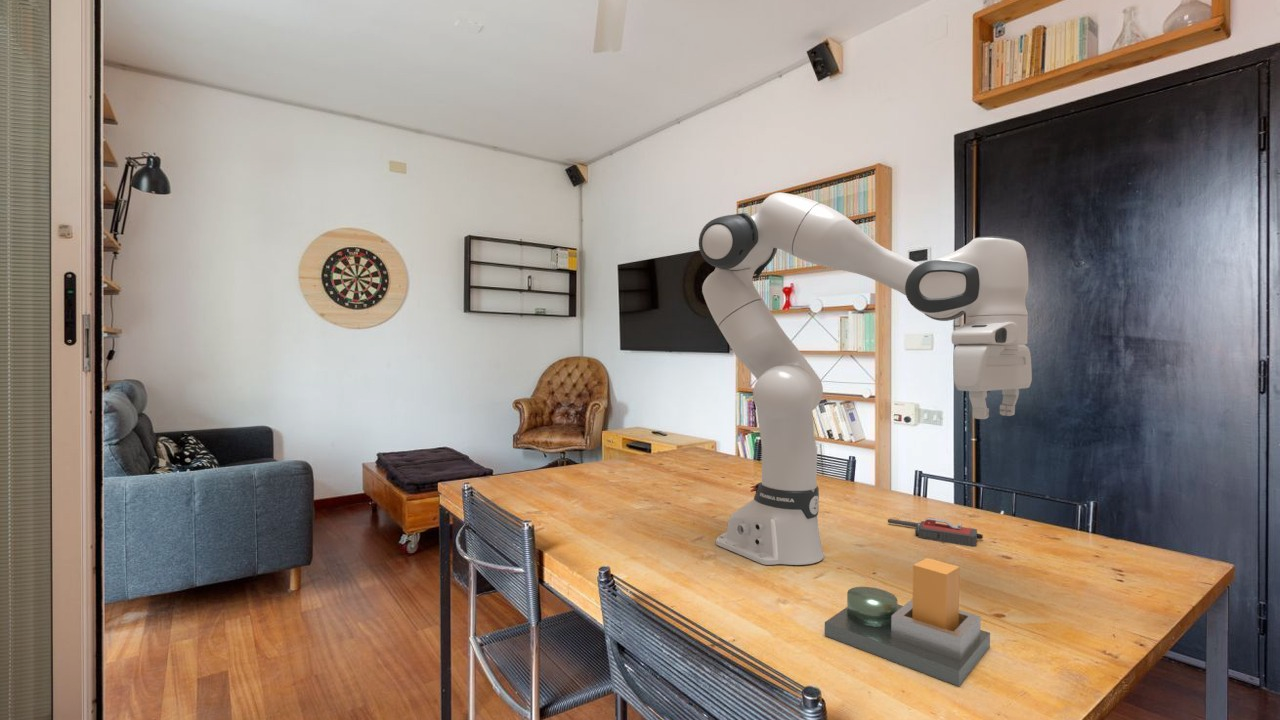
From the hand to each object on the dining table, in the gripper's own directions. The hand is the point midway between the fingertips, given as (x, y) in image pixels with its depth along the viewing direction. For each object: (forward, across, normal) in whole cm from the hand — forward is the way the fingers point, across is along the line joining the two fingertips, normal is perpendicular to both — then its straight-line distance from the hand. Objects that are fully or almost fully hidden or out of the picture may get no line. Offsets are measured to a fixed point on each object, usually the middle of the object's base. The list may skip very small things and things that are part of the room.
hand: (994, 417), depth 96 cm
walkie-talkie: (+32, -27, -25) cm, 49 cm away
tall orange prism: (+29, +24, +3) cm, 38 cm away
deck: (+31, +24, -1) cm, 40 cm away
